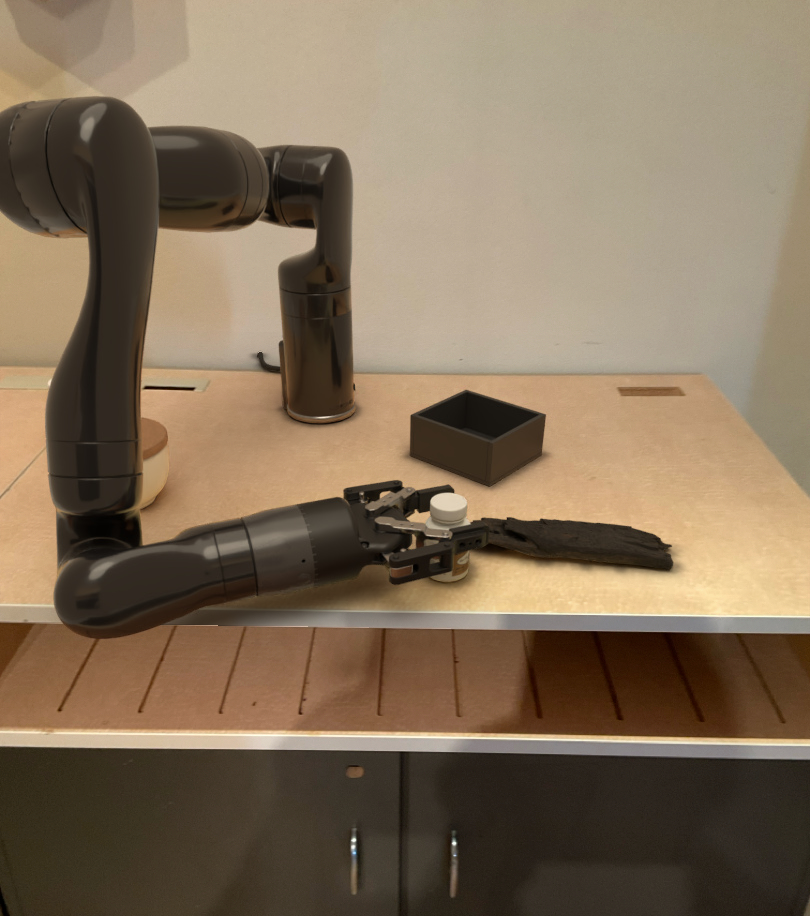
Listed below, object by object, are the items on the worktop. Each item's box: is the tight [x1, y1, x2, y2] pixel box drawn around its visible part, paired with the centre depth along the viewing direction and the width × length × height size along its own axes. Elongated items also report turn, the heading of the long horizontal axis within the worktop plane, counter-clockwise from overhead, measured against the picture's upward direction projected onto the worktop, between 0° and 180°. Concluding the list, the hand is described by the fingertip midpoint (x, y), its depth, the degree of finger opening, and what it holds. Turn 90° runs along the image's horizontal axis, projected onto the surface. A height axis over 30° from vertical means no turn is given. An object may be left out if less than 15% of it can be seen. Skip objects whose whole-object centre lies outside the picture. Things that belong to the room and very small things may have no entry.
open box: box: [409, 389, 547, 487], centre depth 97 cm, size 12×11×6 cm
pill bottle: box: [424, 493, 471, 583], centre depth 75 cm, size 4×4×8 cm
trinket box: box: [140, 416, 170, 510], centre depth 86 cm, size 11×11×9 cm
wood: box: [470, 516, 675, 570], centre depth 80 cm, size 22×7×3 cm, turn 82°
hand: (469, 513), depth 74 cm, fingers open, 7 cm apart
